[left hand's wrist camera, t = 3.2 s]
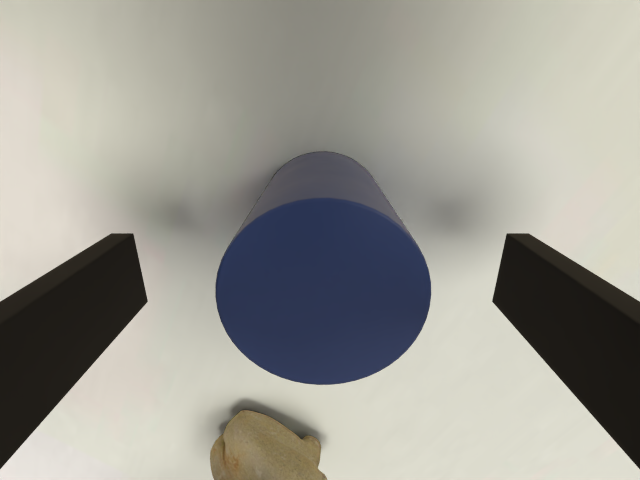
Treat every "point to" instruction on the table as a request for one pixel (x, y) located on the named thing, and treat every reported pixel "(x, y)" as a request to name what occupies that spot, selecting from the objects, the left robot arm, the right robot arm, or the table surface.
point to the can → (323, 276)
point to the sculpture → (263, 451)
